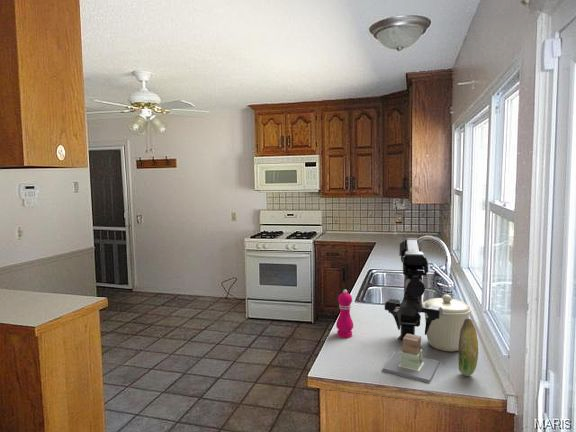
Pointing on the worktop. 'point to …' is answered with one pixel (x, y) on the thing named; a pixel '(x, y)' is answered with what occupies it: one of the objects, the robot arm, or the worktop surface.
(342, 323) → the pepper mill
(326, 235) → the worktop surface
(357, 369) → the worktop surface
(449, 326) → the canister
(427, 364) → the build board
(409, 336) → the walnut block
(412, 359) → the green block
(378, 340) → the worktop surface
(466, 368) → the vegetable
